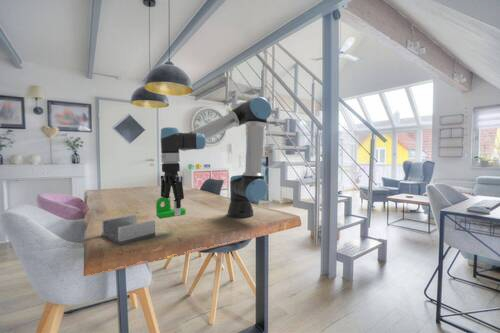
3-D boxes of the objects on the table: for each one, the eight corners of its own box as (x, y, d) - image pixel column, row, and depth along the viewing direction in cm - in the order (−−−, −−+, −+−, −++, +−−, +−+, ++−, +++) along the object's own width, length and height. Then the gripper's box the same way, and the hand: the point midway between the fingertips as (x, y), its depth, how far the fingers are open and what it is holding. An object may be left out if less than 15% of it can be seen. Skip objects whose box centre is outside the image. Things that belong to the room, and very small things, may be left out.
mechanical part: (160, 218, 101) (159, 200, 100) (156, 216, 105) (155, 198, 105) (187, 214, 107) (187, 196, 107) (183, 211, 112) (182, 195, 112)
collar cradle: (155, 236, 101) (155, 220, 101) (120, 245, 90) (120, 228, 90) (134, 228, 113) (134, 214, 113) (101, 235, 102) (101, 220, 102)
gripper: (151, 163, 109) (153, 212, 110) (176, 163, 96) (178, 219, 97) (166, 162, 115) (167, 209, 116) (191, 162, 102) (193, 215, 103)
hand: (172, 214), depth 106 cm, fingers closed on mechanical part, 7 cm apart
